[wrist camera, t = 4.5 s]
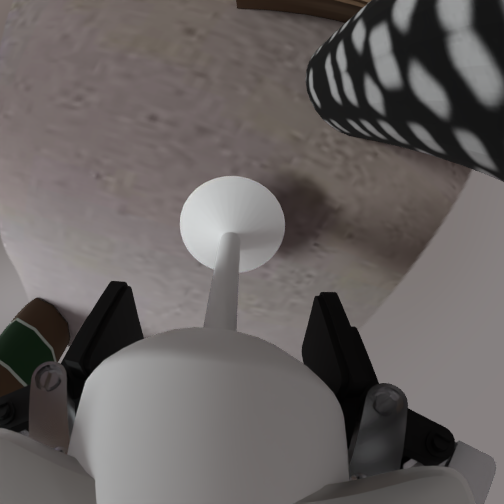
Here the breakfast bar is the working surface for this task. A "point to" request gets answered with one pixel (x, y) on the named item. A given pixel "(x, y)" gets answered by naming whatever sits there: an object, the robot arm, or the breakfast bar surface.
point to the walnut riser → (309, 7)
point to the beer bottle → (30, 344)
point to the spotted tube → (418, 79)
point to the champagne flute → (212, 387)
